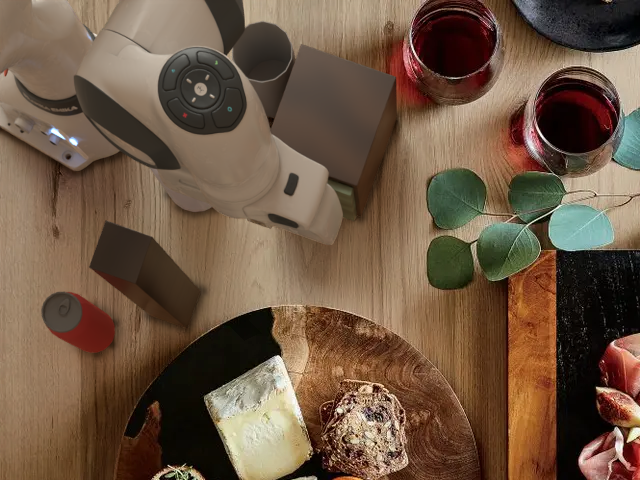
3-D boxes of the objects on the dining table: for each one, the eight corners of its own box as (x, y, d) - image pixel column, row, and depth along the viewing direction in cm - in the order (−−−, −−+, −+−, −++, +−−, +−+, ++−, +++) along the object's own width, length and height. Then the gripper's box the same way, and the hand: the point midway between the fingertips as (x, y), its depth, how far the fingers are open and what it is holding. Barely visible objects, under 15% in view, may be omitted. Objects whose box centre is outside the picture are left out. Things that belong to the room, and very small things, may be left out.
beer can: (123, 320, 122) (93, 299, 110) (105, 361, 122) (73, 344, 110) (84, 302, 122) (49, 279, 110) (65, 342, 123) (29, 323, 111)
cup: (300, 118, 122) (291, 82, 112) (245, 117, 122) (231, 82, 112) (301, 61, 122) (292, 20, 112) (246, 61, 122) (232, 20, 112)
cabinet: (361, 217, 122) (357, 186, 110) (275, 187, 122) (262, 152, 110) (396, 118, 122) (396, 76, 110) (310, 88, 122) (301, 43, 110)
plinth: (149, 315, 122) (88, 267, 98) (163, 277, 122) (105, 220, 98) (187, 329, 122) (135, 283, 98) (201, 291, 122) (152, 236, 98)
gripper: (132, 165, 83) (170, 215, 97) (321, 232, 83) (333, 272, 97) (153, 106, 83) (188, 164, 97) (343, 173, 83) (351, 222, 97)
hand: (262, 219), depth 97 cm, fingers closed
